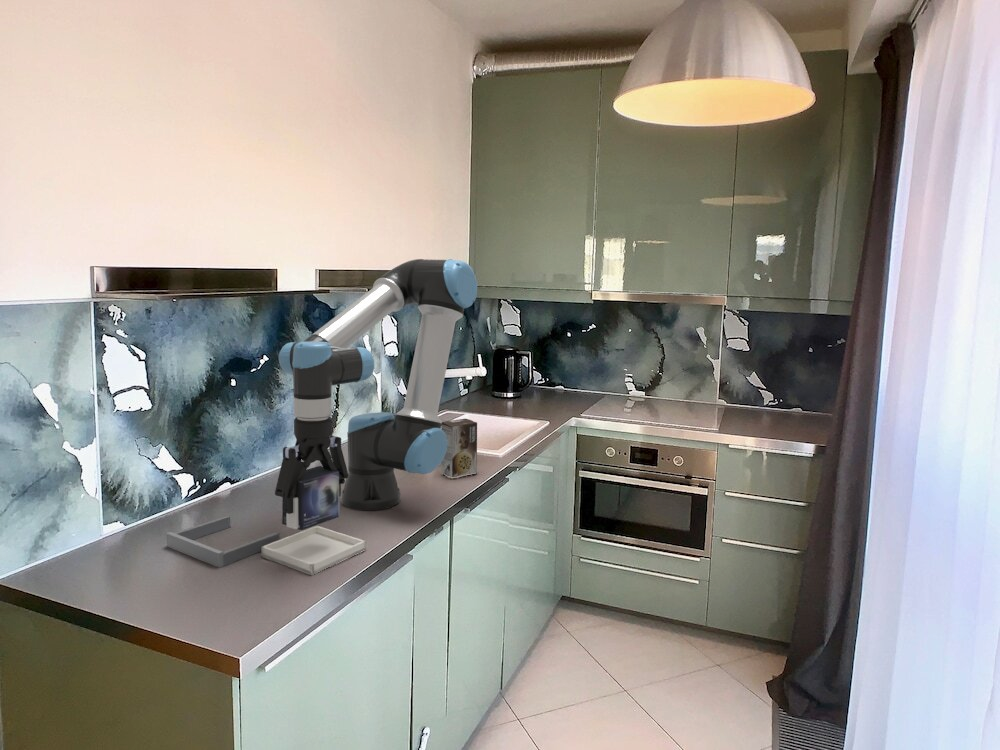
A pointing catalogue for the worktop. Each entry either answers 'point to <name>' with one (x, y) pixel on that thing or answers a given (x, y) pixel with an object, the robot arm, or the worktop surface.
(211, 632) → the worktop surface
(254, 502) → the worktop surface
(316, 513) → the small box
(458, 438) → the coffee box
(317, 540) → the tray
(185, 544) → the bay
